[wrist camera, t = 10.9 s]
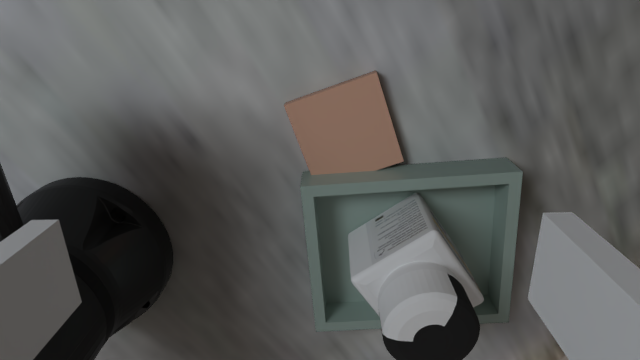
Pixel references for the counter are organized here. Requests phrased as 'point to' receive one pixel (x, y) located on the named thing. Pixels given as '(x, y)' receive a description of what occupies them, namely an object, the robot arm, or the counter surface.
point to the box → (446, 204)
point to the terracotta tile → (345, 127)
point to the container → (416, 283)
